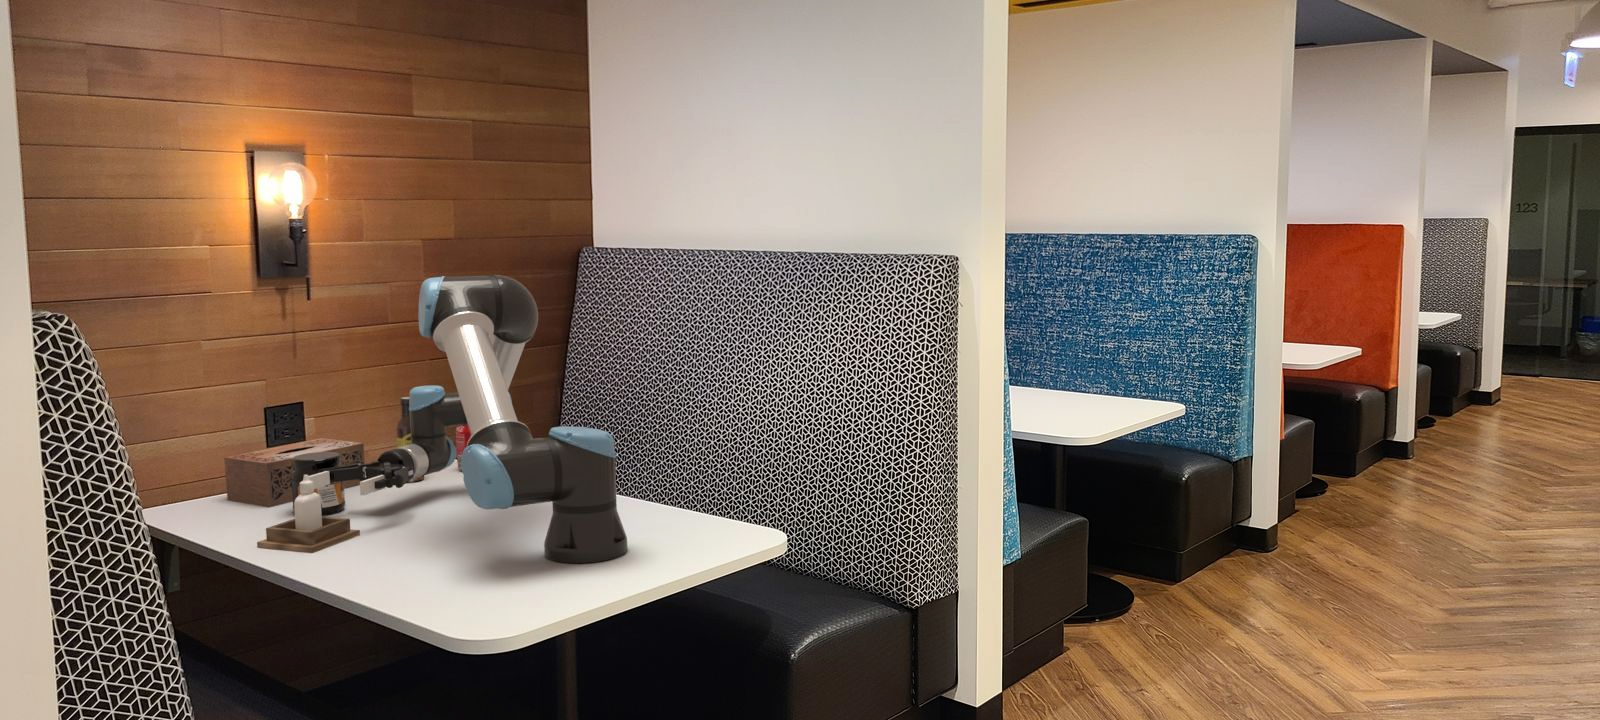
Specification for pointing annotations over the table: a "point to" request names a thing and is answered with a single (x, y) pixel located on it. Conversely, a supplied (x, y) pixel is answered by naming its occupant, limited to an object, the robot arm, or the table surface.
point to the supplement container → (310, 465)
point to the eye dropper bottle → (307, 507)
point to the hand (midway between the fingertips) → (333, 486)
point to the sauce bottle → (405, 428)
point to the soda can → (462, 441)
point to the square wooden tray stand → (308, 535)
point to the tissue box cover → (280, 470)
